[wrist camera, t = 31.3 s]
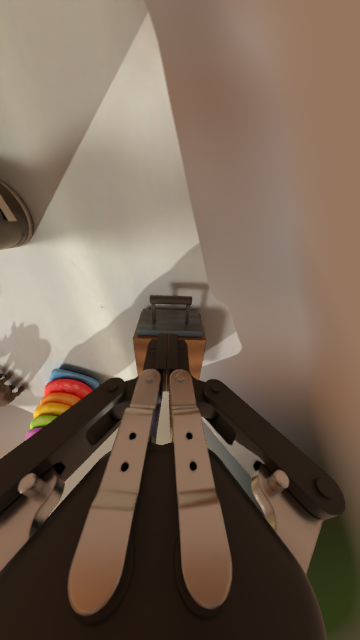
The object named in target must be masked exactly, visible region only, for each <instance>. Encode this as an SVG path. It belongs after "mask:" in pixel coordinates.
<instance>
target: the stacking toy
mask: <svg viewBox="0 0 360 640" xmlns="http://www.w3.org/2000/svg"><path fill="white" fill-rule="evenodd" d="M98 386H100V384H99V382H98V381H97V380H96V379H94V378H91V377H88V376H85V375H82V374H78V373H75V372H71V371H67V370H63V369H54V370H53V371H52V372H51V376H50V380H49V383H48V384H47V385H46V386H45V389H44V397H43V398H42V400H41V402H40V406H38V407H37V408H36V410H35V411H34V415H33V417H34V419H33V420H32V422H31V424H30V429H31V430H30V431H29V432H28V433H27V435H26V437H25V441H26V440H27V439H28V438H30V437H31V436H32V435H34V434H35V433H36V432H38V431H39V430H40V429H42V428H43V427H44V426H46V425H47V424H48V423H50V422H51V421H53V420H54V419H55V418H57V417H58V416H59V415H61V414H62V413H63V412H65V411H66V410H67V409H69V408H70V407H71V406H73V405H74V404H75V403H77V402H78V401H79V400H81V399H82V398H84V397H85V396H86V395H88V394H89V393H90V392H92V391H93V390H94V389H96V388H97V387H98Z"/></svg>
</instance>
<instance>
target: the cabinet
mask: <svg viewBox="0 0 360 640" xmlns="http://www.w3.org/2000/svg"><path fill="white" fill-rule="evenodd" d="M141 315H142V312H141ZM141 315H140V318H141ZM199 317H200V321H201V325H202V320H201V316H200V313H199ZM140 318H139V321H140ZM139 321H138V325H139ZM138 325H137V328H138ZM137 328H136V331H135V334H134V337H133V344H134V351H135V358H136V365H137V373H138V376H139V375H140V373H141V372H142V371H143V367H144V362H145V357H146V352H147V347H148V343H149V342H150V341H151V339H158V336H143V335H137ZM202 330H203V334H202V337H178V340H185V342H186V343H187V346H188V357H189V369H190V373H191V375H192V376H193V377H194V378H196V379H197V380H199V378H200V372H201V367H202V361H203V356H204V350H205V344H206V338H205V333H204V329H203V325H202ZM166 390H167V375H166Z"/></svg>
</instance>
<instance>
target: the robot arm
mask: <svg viewBox="0 0 360 640" xmlns="http://www.w3.org/2000/svg"><path fill="white" fill-rule="evenodd" d="M32 235H33V221H32V218H31V215H30V212H29V210H28V208H27V207H26V205H25V203H24V202H23V200H22V199H21V198H20V197H19V195H18V194H17V193H16V192H15V191H14V190H13V189H12V188H11V187H9V186H8V185H7V184H5V183H4V182H3V181H1V180H0V250H3V249H8V248H13V247H19V246H22V245H25V244H26V243H28V242H29V241H30V239H31V237H32ZM166 375H167V391H169V414H170V435H171V436H170V439H171V440H170V441H171V443H168V444H165V445H158V444H156V435H157V427H158V421H159V414H160V407H161V401H162V392H163V391H166ZM202 421H203V422H204V423H205V424H206V425H207V426H208V428H209V429H210V430H211V431H212V432H213V433H214V434H215V436H216V437H217V438H218V439H219V440H220V441H221V442H222V444H223V445H224V446H225V447H226V448H227V450H228V451H229V452H230V453H231V454H232V455H233V457H234V458H235V459H236V460H237V461H238V462H239V463H240V465H241V466H242V467H243V468H244V469H245V470H246V472H247V473H248V474H249V475H250V476H251V477H252V480H251V485H252V486H251V487H252V491H253V494H254V496H255V498H256V500H257V501H258V503H259V505H260V506H261V508H262V510H263V512H264V515H265V517H264V516H263V514H262V513H261V512H260V510H259V509H258V508H257V507H256V505H255V504H254V503H253V502H252V500H251V499H250V497H249V496H248V495H247V493H246V492H245V491H244V489H243V488H242V487H241V485H240V484H239V483H238V482H237V480H236V479H235V478H234V476H233V475H232V474H231V472H230V471H229V470H228V469H227V467H226V466H225V465H224V463H223V462H222V461H221V459H220V458H219V457H218V456H217V455H216V454H215V453H214V452H212V451H211V450H210V449H208V448H207V443H206V439H205V433H204V428H203V423H202ZM118 427H119V430H118V432H117V436H116V439H115V441H114V445H113V447H112V450H111V451H110V452H108V453H107V454H105V455H104V456H103V457H102V458H101V459H100V460H99V461H98V462H97V463H96V464H95V465H94V466H93V467H92V469H91V470H90V471H89V472H88V473H87V474H86V475H85V476H84V478H83V479H82V480H81V481H80V482H79V484H77V485H76V487H75V488H74V489H73V490H72V491H71V492H70V493H69V494H68V496H67V497H66V498H65V499H64V500H63V501H62V502H61V503H60V505H59V506H58V507H57V508H56V509H55V510H54V512H52V514H51V515H50V516H49V517H48V515H49V514H50V512H51V511H52V510H53V508H54V507H55V506H56V505H57V503H58V502H59V500H60V498H61V496H62V494H63V491H64V485H65V483H64V482H65V481H66V480H67V479H68V478H69V477H70V476H71V475H72V474H73V473H74V472H75V470H77V468H79V467H80V466H81V464H83V463H84V461H86V460H87V459H88V458H89V456H90V455H91V454H92V453H93V452H94V451H95V450H96V449H97V448H98V447H99V446H100V445H101V444H102V443H103V442H104V441H105V440H106V439H107V438H108V437H109V436H110V435H111V434H112V433H113V432H114V431H115V430H116V429H117V428H118ZM344 510H345V500H344V497H343V494H342V492H341V490H340V488H339V487H338V485H337V484H336V483H335V481H334V480H333V479H332V478H331V477H330V476H329V475H328V474H327V473H326V472H325V471H324V470H323V469H321V468H320V467H319V466H318V465H317V464H316V463H315V462H313V461H312V460H311V459H310V458H309V457H308V456H306V455H305V454H304V453H303V452H302V451H301V450H299V449H298V448H297V447H296V446H295V445H294V444H293V443H292V442H290V441H289V440H288V439H287V438H286V437H285V436H283V435H282V434H281V433H280V432H279V431H277V429H275V428H274V427H273V426H272V425H271V424H270V423H268V422H267V421H266V420H265V419H264V418H263V417H261V416H260V415H259V414H258V413H257V412H256V411H255V410H253V409H252V408H251V407H250V406H249V405H248V404H246V403H245V402H244V401H243V400H242V399H241V398H240V397H238V396H237V395H236V394H235V393H234V392H233V391H232V390H230V389H229V388H228V387H227V386H226V385H225V384H223V383H222V382H221V381H219V380H216V379H210V380H208V381H207V382H203V381H200V380H197V379H196V378H194V377H193V376H192V375H191V373H190V369H189V357H188V346H187V343H186V342H185V340H178V333H169V337H168V333H159V334H158V339H151V341H150V342H149V343H148V347H147V352H146V357H145V362H144V367H143V371H142V372H141V373H140V375H139V376H138V377H136V378H135V379H132V380H129V381H125V382H124V381H123V380H122V379H120V378H111V379H108V380H107V381H105V382H104V383H102V384H101V385H100V386H98V387H97V388H96V389H94V390H93V391H92V392H90V393H89V394H88V395H86V396H85V397H84V398H82V399H81V400H79V401H78V402H77V403H75V404H74V405H73V406H71V407H70V408H69V409H67V410H66V411H65V412H63V413H62V414H61V415H59V416H58V417H57V418H55V419H54V420H53V421H51V422H50V423H48V424H47V425H46V426H44V427H43V428H42V429H40V430H39V431H38V432H36V433H35V434H34V435H32V436H31V437H30V438H28V439H27V440H26V441H24V442H23V443H22V444H20V445H19V446H17V447H16V448H15V449H13V450H12V451H11V452H9V453H8V454H7V455H5V456H4V457H3V458H1V459H0V640H327V637H326V631H325V626H324V622H323V618H322V614H321V611H320V608H319V605H318V602H317V599H316V596H315V594H314V591H313V589H312V587H311V584H310V582H309V580H308V578H307V576H306V573H307V570H308V567H309V564H310V560H311V557H312V554H313V551H314V548H315V544H316V541H317V538H318V535H319V531H320V528H321V525H322V522H323V521H324V520H325V519H328V518H332V517H335V516H338V515H341V514H342V513H343V512H344ZM47 517H48V518H47Z"/></svg>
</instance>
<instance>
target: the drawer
mask: <svg viewBox="0 0 360 640" xmlns="http://www.w3.org/2000/svg"><path fill="white" fill-rule="evenodd" d="M150 304H151V305H152V309H143V312H142V315H141V318H140V321H139V325H138V328H137V335H143V336H158V334H159V333H168V336H169V333H178V336H181V337H202V334H203V330H202V325H201V321H200V317H199V312H198V310H190V305H191V304H192V297H189V296H160V295H150ZM155 304H180V305H186V310H166V309H155Z"/></svg>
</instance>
